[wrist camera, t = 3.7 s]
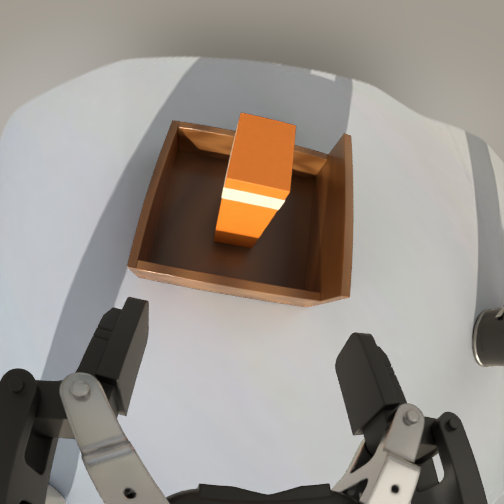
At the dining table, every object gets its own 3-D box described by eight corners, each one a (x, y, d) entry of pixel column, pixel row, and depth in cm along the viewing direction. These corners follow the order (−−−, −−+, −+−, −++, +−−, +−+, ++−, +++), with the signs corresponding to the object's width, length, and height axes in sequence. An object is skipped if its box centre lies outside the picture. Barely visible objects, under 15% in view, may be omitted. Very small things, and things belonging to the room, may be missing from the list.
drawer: (318, 177, 34) (351, 135, 26) (308, 307, 30) (350, 297, 21) (174, 146, 32) (171, 93, 23) (138, 277, 27) (114, 255, 19)
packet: (259, 199, 32) (296, 124, 19) (252, 249, 30) (291, 193, 18) (222, 192, 31) (240, 111, 19) (212, 241, 29) (225, 178, 17)
